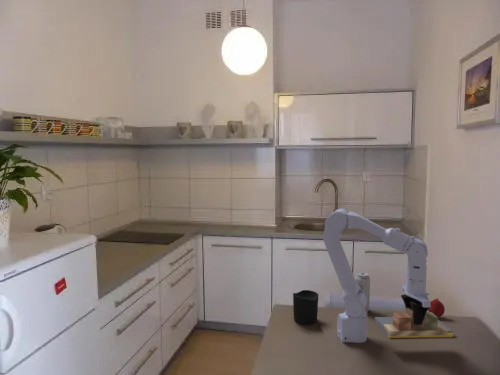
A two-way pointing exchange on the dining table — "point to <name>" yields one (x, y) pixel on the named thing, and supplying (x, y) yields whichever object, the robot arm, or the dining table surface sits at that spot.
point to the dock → (389, 320)
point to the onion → (437, 308)
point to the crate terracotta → (402, 321)
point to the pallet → (414, 333)
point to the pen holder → (305, 307)
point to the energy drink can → (364, 285)
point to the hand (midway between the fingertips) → (414, 321)
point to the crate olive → (431, 321)
